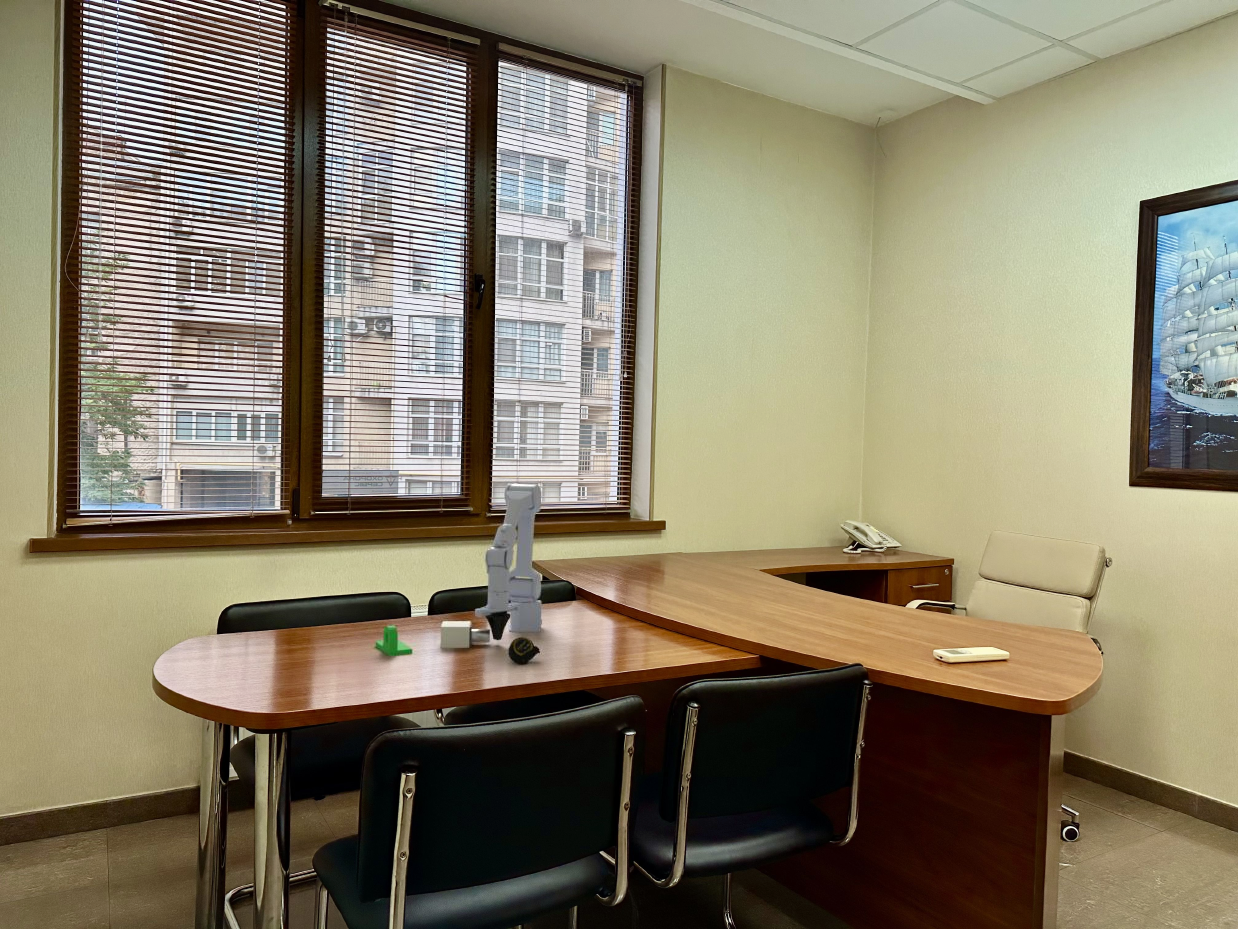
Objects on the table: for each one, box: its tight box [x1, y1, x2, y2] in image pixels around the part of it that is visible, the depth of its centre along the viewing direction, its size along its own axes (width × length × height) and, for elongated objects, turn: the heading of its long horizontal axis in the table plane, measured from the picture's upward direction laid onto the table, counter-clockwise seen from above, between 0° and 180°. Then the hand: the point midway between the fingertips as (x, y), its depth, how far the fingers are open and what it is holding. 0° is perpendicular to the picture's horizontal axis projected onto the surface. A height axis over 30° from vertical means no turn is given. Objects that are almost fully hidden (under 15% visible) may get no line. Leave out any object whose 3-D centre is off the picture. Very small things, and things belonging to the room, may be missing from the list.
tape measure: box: [507, 636, 541, 666], centre depth 221 cm, size 7×7×4 cm
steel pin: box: [471, 628, 491, 644], centre depth 239 cm, size 9×4×4 cm, turn 97°
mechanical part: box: [375, 624, 413, 657], centre depth 231 cm, size 12×6×8 cm, turn 33°
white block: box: [440, 620, 473, 649], centre depth 238 cm, size 8×7×6 cm
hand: (497, 639), depth 240 cm, fingers closed
